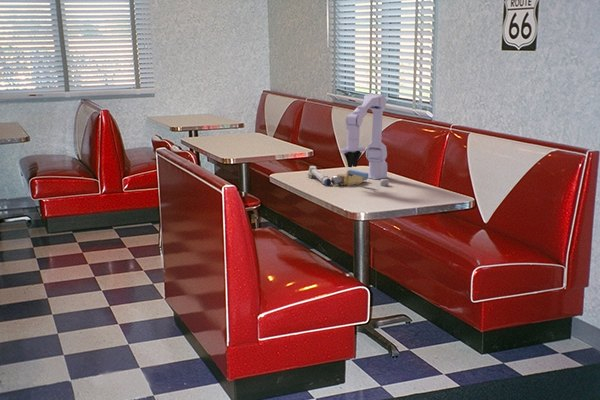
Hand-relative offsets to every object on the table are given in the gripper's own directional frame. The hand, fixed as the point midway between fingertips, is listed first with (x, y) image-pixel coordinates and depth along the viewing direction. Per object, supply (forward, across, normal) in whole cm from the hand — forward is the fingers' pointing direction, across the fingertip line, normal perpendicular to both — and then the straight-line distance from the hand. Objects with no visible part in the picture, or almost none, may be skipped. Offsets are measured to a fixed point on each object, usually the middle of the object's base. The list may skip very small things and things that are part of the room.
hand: (352, 166), depth 358 cm
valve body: (+10, -5, -7) cm, 13 cm away
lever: (+5, -5, -2) cm, 7 cm away
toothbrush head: (+10, +3, -21) cm, 24 cm away
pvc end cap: (+10, -16, +7) cm, 20 cm away
